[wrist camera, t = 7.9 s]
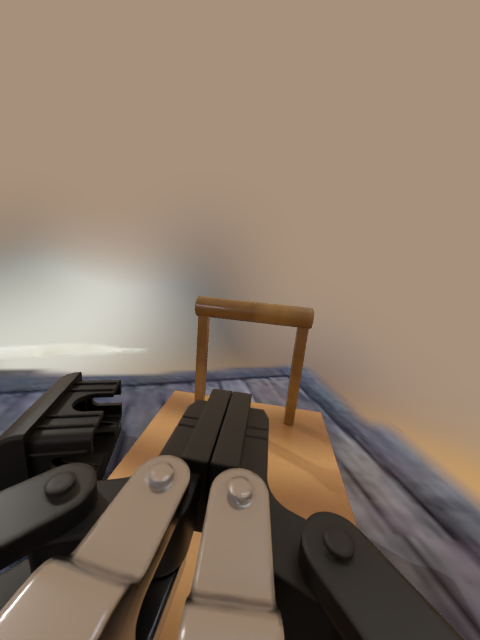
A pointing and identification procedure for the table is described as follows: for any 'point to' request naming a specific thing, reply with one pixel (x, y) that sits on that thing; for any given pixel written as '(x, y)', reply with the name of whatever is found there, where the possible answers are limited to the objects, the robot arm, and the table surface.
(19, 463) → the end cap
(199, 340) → the box lid
